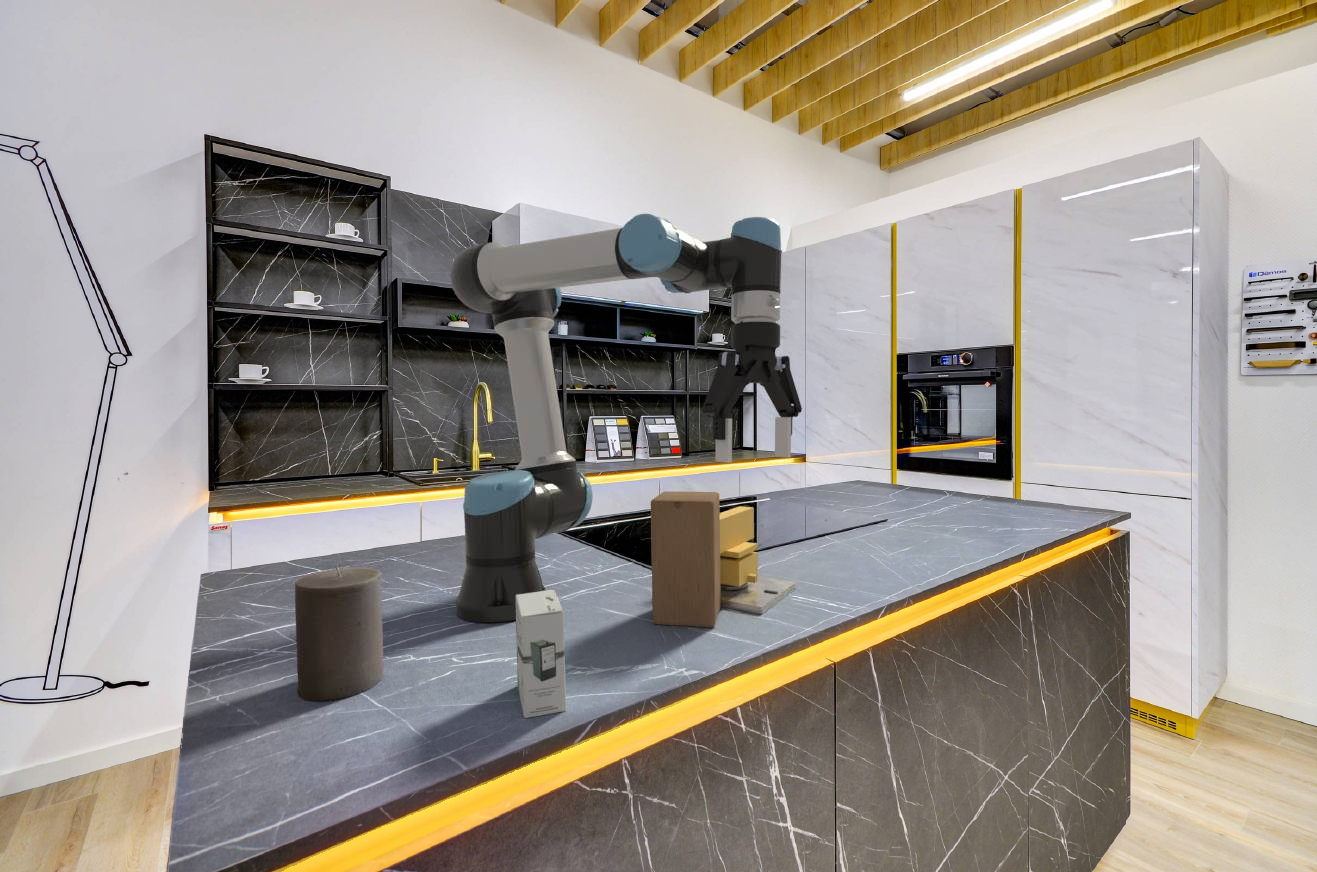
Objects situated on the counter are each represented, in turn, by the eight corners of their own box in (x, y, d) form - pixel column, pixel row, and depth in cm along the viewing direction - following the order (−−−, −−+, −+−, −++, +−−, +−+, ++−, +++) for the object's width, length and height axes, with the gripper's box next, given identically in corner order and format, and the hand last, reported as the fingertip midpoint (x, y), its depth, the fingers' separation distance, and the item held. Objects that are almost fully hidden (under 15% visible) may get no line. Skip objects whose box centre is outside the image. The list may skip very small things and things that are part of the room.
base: (660, 594, 106) (660, 541, 106) (703, 573, 120) (702, 525, 119) (761, 614, 95) (761, 554, 95) (796, 588, 109) (795, 535, 108)
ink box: (516, 685, 72) (513, 592, 71) (556, 678, 74) (553, 587, 73) (523, 720, 64) (520, 615, 63) (567, 711, 65) (565, 609, 65)
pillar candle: (290, 708, 67) (286, 581, 66) (304, 673, 76) (301, 561, 75) (383, 692, 71) (380, 572, 70) (385, 660, 80) (383, 553, 79)
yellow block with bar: (681, 584, 104) (680, 517, 103) (722, 563, 117) (721, 504, 116) (737, 594, 98) (736, 523, 97) (773, 571, 111) (772, 509, 110)
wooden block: (714, 628, 89) (713, 500, 88) (652, 625, 91) (649, 499, 90) (720, 606, 99) (719, 491, 98) (664, 604, 101) (662, 490, 100)
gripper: (714, 312, 79) (713, 466, 80) (824, 327, 94) (822, 456, 95) (678, 318, 85) (678, 462, 86) (788, 331, 100) (786, 453, 101)
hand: (754, 459), depth 91 cm, fingers open, 13 cm apart
